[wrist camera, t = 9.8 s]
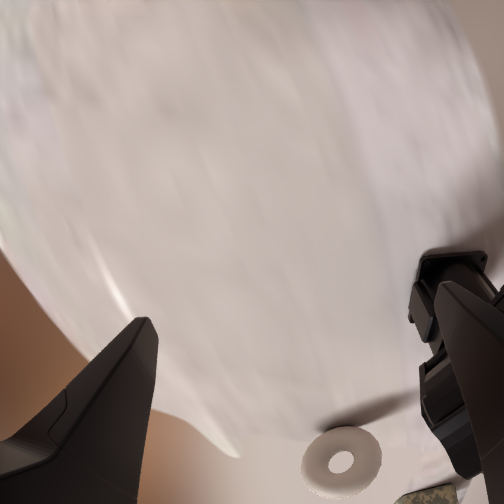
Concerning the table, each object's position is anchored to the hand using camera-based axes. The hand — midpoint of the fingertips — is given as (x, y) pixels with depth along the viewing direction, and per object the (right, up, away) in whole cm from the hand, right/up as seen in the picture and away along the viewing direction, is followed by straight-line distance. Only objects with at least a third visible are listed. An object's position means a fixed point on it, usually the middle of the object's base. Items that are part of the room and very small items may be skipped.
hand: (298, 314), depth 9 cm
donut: (+10, -20, +26) cm, 34 cm away
